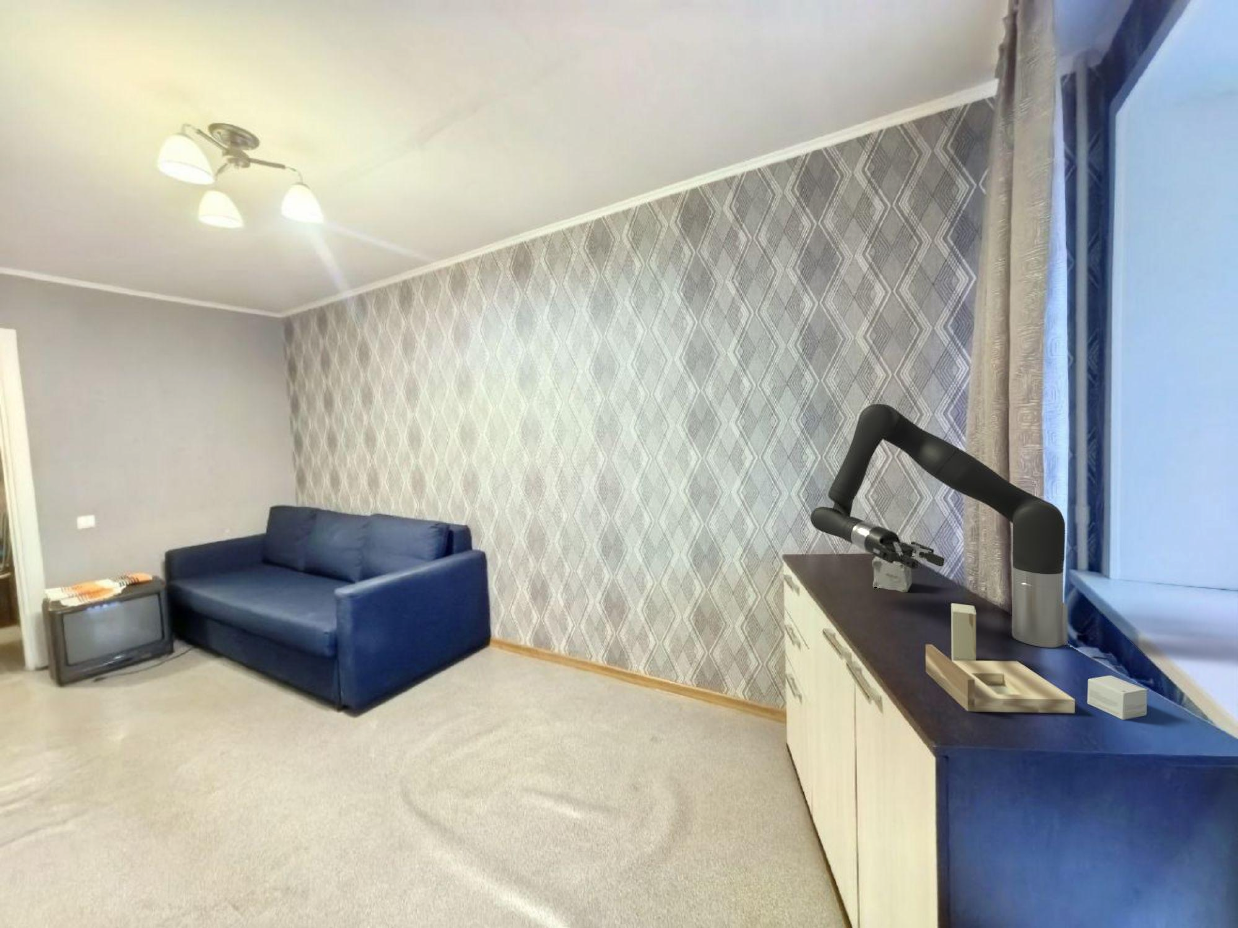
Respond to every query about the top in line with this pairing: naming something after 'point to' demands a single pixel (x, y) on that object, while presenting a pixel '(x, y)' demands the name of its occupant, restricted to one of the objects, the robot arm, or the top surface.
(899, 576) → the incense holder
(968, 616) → the skincare box
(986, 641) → the top surface
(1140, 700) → the small box
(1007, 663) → the rack
